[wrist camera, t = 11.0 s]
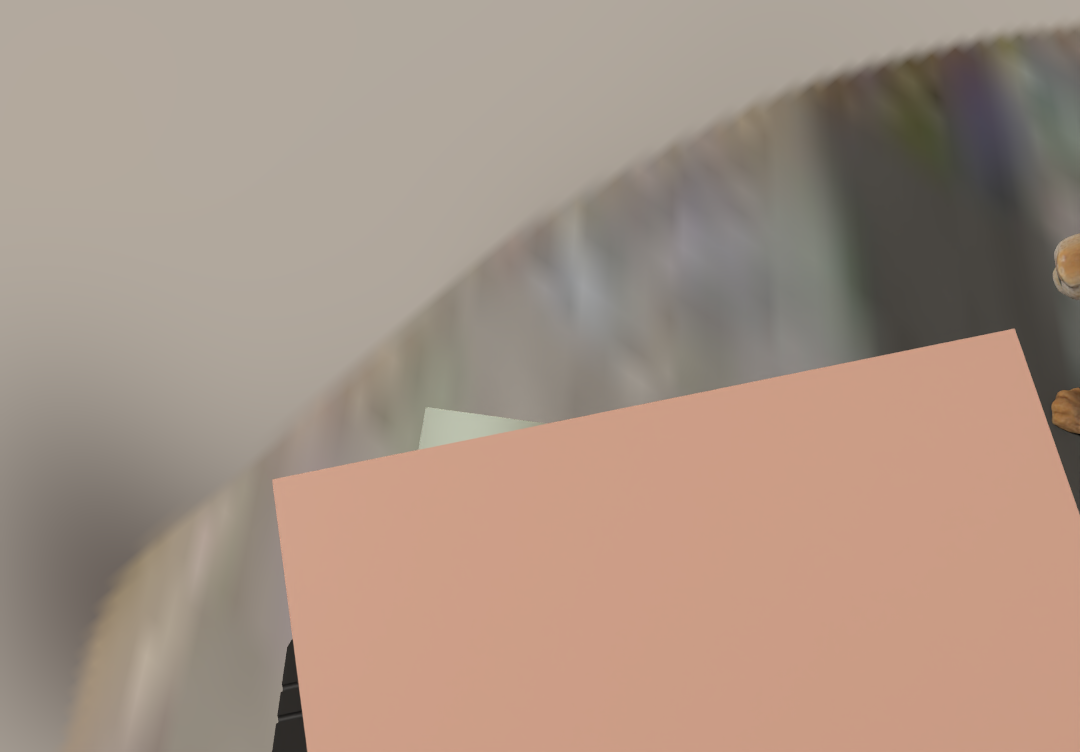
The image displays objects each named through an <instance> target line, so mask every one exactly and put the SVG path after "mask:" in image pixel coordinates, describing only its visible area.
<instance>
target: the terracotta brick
mask: <svg viewBox="0 0 1080 752" xmlns="http://www.w3.org/2000/svg"><path fill="white" fill-rule="evenodd" d="M272 482H273V490H274V497H275V505H276V513H277V520H278V528H279V536H280V544H281V551H282V559H283V567H284V575H285V582H286V590H287V598H288V606H289V613H290V621H291V629H292V637H293V644H294V652H295V660H296V667H297V675H298V683H299V691H300V698H301V706H302V714H303V722H304V729H305V737H306V745H307V752H1080V514H1079V512H1078V509H1077V506H1076V503H1075V500H1074V497H1073V494H1072V492H1071V489H1070V486H1069V483H1068V480H1067V477H1066V474H1065V472H1064V469H1063V466H1062V463H1061V460H1060V457H1059V454H1058V451H1057V449H1056V446H1055V443H1054V440H1053V437H1052V434H1051V431H1050V429H1049V426H1048V423H1047V420H1046V417H1045V414H1044V411H1043V409H1042V406H1041V403H1040V400H1039V397H1038V394H1037V391H1036V389H1035V386H1034V383H1033V380H1032V377H1031V374H1030V371H1029V368H1028V366H1027V363H1026V360H1025V357H1024V354H1023V351H1022V348H1021V346H1020V343H1019V340H1018V337H1017V334H1016V331H1015V329H1011V330H1006V331H1001V332H996V333H991V334H986V335H981V336H976V337H971V338H966V339H961V340H956V341H952V342H947V343H942V344H937V345H932V346H927V347H922V348H917V349H912V350H907V351H902V352H897V353H893V354H888V355H883V356H878V357H873V358H868V359H863V360H858V361H853V362H848V363H843V364H838V365H834V366H829V367H824V368H819V369H814V370H809V371H804V372H799V373H794V374H789V375H784V376H779V377H774V378H770V379H765V380H760V381H755V382H750V383H745V384H740V385H735V386H730V387H725V388H720V389H715V390H711V391H706V392H701V393H696V394H691V395H686V396H681V397H676V398H671V399H666V400H661V401H656V402H652V403H647V404H642V405H637V406H632V407H627V408H622V409H617V410H612V411H607V412H602V413H597V414H593V415H588V416H583V417H578V418H573V419H568V420H563V421H558V422H553V423H548V424H543V425H538V426H533V427H529V428H524V429H519V430H514V431H509V432H504V433H499V434H494V435H489V436H484V437H479V438H474V439H470V440H465V441H460V442H455V443H450V444H445V445H440V446H435V447H430V448H425V449H420V450H415V451H411V452H406V453H401V454H396V455H391V456H386V457H381V458H376V459H371V460H366V461H361V462H356V463H352V464H347V465H342V466H337V467H332V468H327V469H322V470H317V471H312V472H307V473H302V474H297V475H292V476H288V477H283V478H278V479H273V480H272Z"/></svg>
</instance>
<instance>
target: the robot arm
mask: <svg viewBox="0 0 1080 752" xmlns="http://www.w3.org/2000/svg"><path fill="white" fill-rule="evenodd" d="M282 686H283V692H281V695H280V702H279V709H278V715H277V716H278V721H279V722H278V723H277V724H276V729H275V736H274V743H273V750H272V752H307V745H306V737H305V729H304V722H303V714H302V706H301V698H300V691H299V683H298V675H297V667H296V660H295V652H294V644H293V639H292V640H291V642H290V644H289V645H288V647H287V653H286V660H285V667H284V674H283V681H282Z"/></svg>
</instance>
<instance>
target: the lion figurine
mask: <svg viewBox="0 0 1080 752" xmlns="http://www.w3.org/2000/svg"><path fill="white" fill-rule="evenodd" d="M1054 257H1055V265H1056V268H1055V269H1054V271H1053V280H1054V283H1055V285H1056V287H1057V289H1058V290H1059V291H1060V292H1061V293H1063V294H1064V295H1067V296H1069V297H1071V298H1073V299H1075V300H1080V234H1076V235H1073V236H1070V237H1068V238H1066V239H1064V240H1062V241H1061V242H1060V243H1059V244H1058V246H1057V248H1056V250H1055V252H1054ZM1051 409H1052V422H1053V424H1055V425H1056V426H1058V427H1060V428H1062V429H1064V430H1066V431H1069V432H1073V433H1078V434H1080V388H1074V389H1072V390H1069V391H1068V390H1062V391H1060V392H1058V393H1057V396H1056V399H1055V401H1054V402H1053V403H1052V407H1051Z"/></svg>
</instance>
